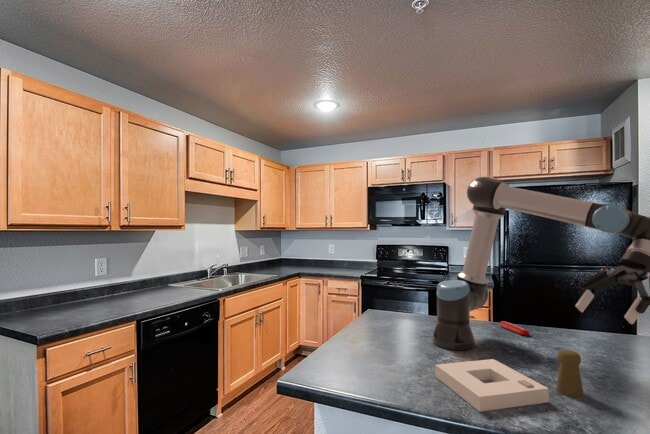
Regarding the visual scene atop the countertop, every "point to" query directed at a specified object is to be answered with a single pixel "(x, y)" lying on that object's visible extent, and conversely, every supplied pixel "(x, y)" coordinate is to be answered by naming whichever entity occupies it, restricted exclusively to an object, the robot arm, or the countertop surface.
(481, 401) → the socket block
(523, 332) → the red rounded rod
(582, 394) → the cork
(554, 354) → the countertop surface
